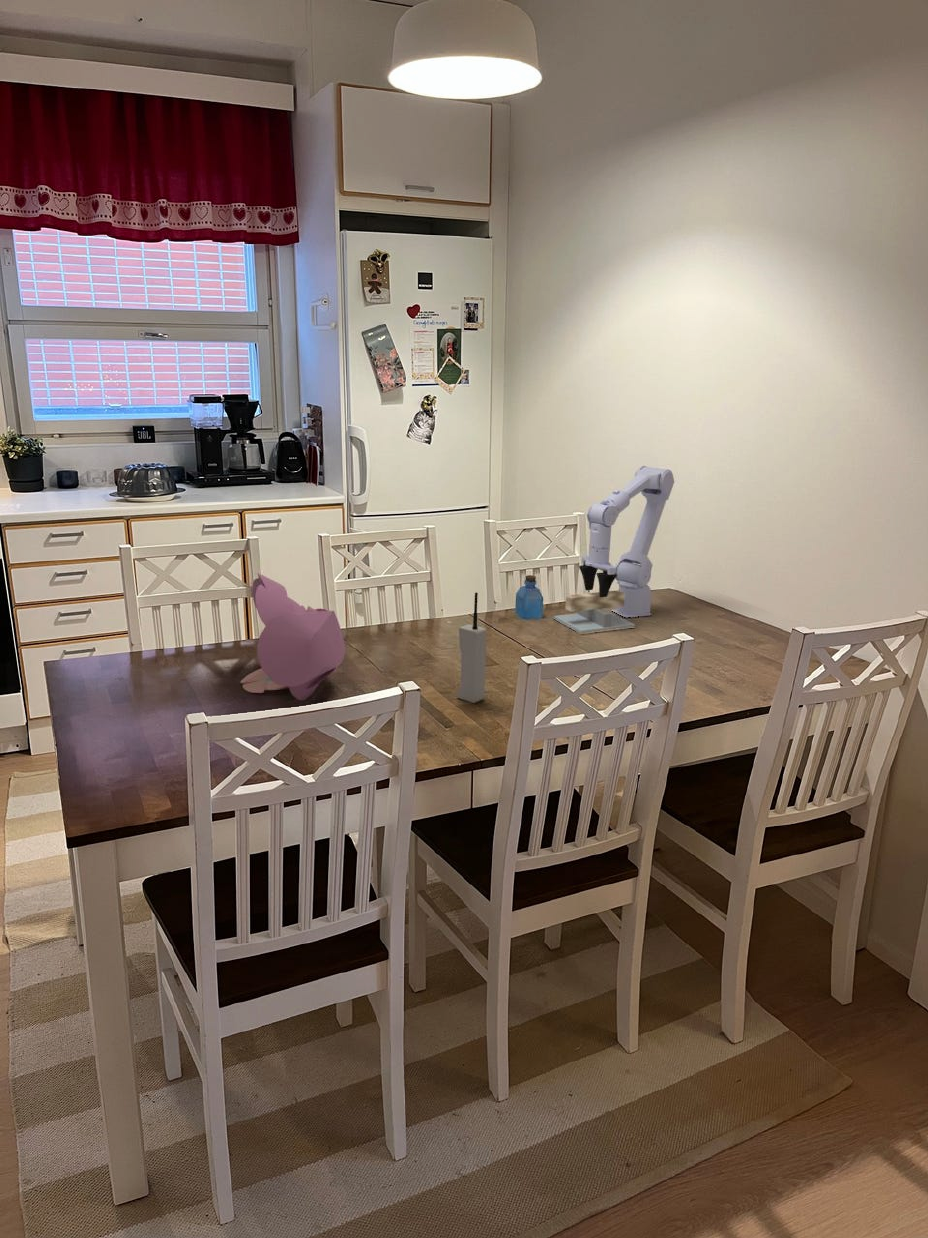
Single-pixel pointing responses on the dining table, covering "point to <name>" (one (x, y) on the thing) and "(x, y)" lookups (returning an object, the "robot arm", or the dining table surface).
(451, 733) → the dining table surface
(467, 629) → the vintage mobile phone
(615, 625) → the stand
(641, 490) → the robot arm
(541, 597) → the perfume bottle
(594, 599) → the ash batten
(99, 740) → the dining table surface
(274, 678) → the purple toy bird
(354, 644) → the dining table surface
